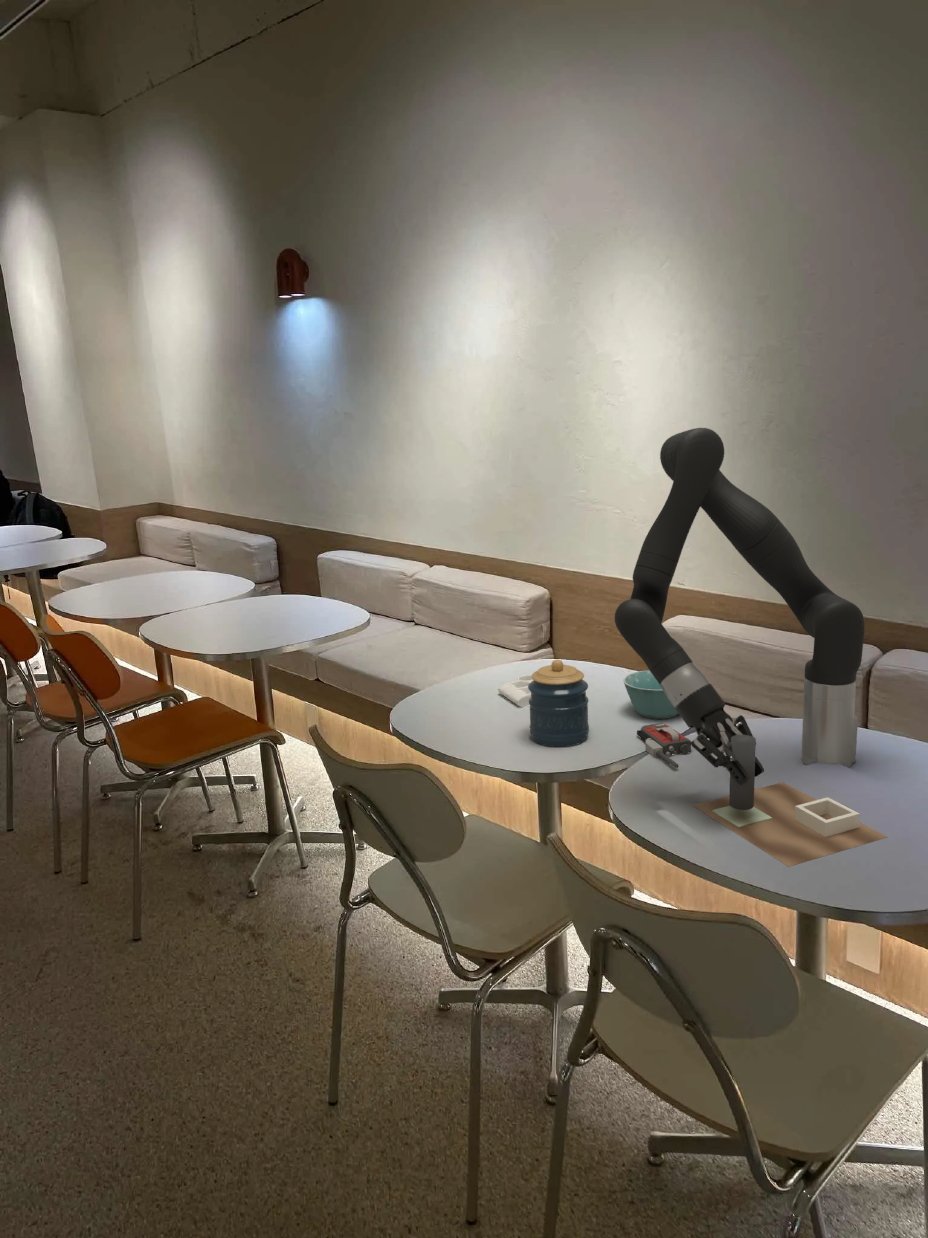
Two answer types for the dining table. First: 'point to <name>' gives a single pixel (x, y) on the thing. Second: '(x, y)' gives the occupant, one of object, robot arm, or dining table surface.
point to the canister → (558, 705)
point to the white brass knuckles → (517, 690)
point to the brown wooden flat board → (784, 826)
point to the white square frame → (840, 823)
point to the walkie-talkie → (664, 741)
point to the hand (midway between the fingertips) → (752, 777)
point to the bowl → (648, 696)
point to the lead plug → (745, 755)
